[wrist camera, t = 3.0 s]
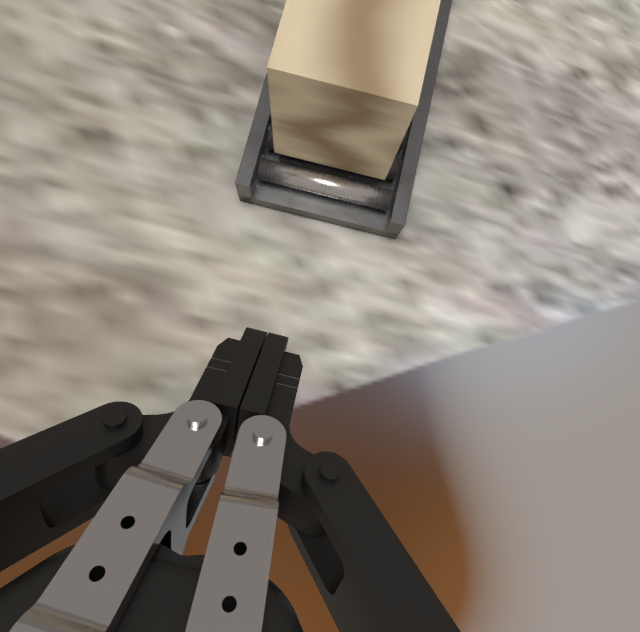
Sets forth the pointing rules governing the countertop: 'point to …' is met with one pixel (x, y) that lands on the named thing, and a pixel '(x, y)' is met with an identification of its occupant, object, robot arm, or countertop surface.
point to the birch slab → (348, 79)
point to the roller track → (336, 184)
